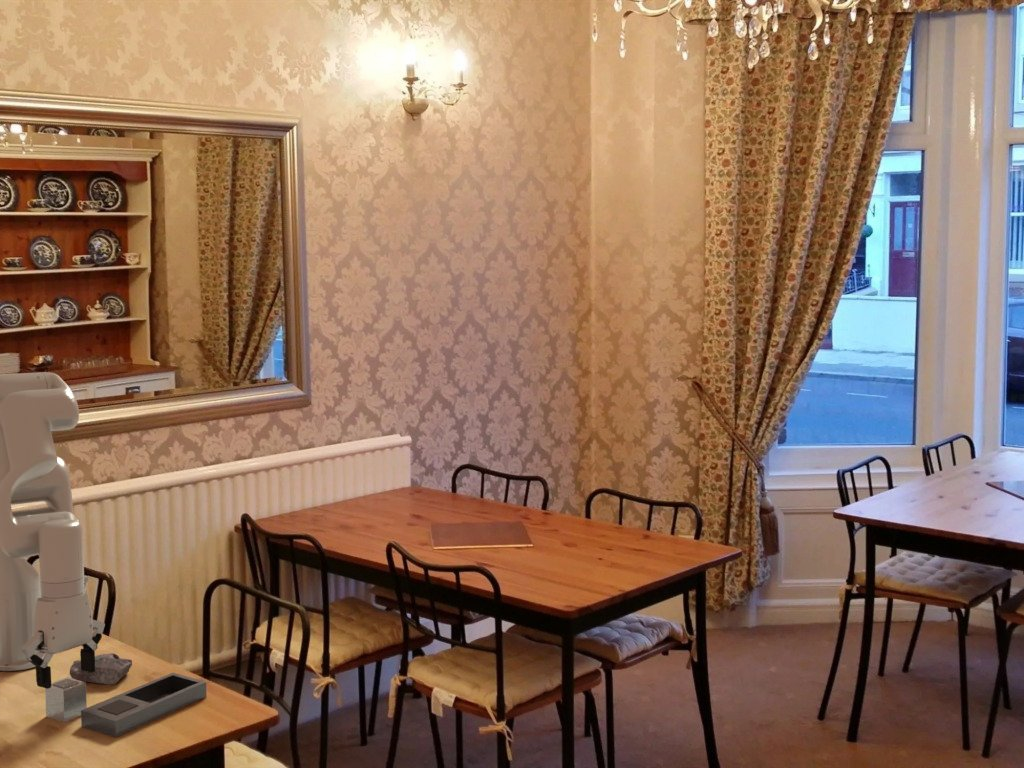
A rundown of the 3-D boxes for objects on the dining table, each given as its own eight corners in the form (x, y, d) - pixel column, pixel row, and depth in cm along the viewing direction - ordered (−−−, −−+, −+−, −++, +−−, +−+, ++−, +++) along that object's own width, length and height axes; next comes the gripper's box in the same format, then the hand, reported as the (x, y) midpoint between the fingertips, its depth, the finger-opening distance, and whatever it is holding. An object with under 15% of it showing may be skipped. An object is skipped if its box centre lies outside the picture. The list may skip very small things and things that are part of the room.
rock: (82, 669, 240) (81, 648, 239) (136, 672, 239) (136, 650, 238) (64, 685, 232) (63, 663, 231) (120, 687, 231) (119, 665, 230)
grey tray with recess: (81, 726, 212) (80, 709, 211) (173, 687, 231) (172, 672, 230) (115, 737, 207) (115, 720, 207) (206, 696, 226) (206, 681, 226)
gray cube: (46, 716, 216) (45, 684, 215) (68, 707, 220) (67, 676, 219) (64, 722, 213) (63, 690, 213) (86, 713, 218) (85, 681, 217)
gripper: (87, 574, 223) (91, 661, 225) (8, 596, 208) (12, 689, 210) (114, 579, 219) (118, 668, 221) (35, 602, 204) (39, 697, 206)
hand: (66, 678), depth 215 cm, fingers open, 9 cm apart
